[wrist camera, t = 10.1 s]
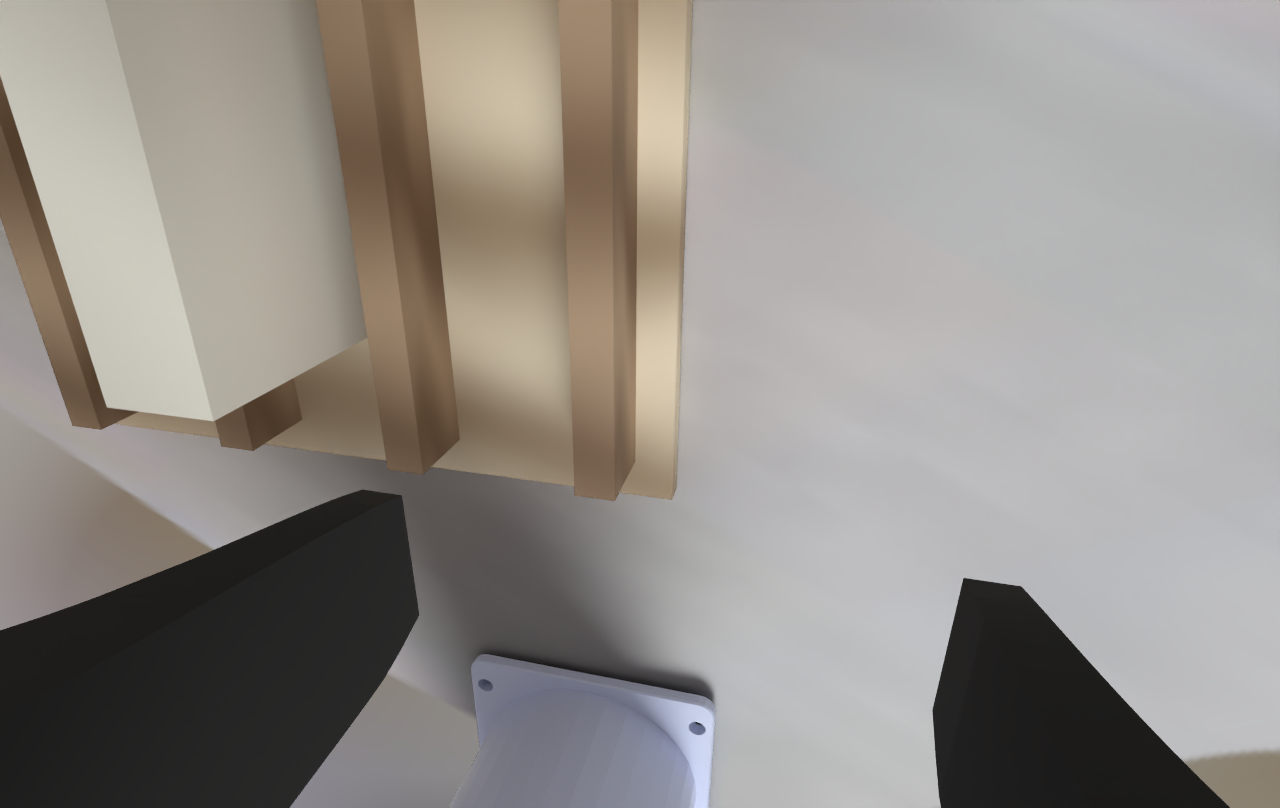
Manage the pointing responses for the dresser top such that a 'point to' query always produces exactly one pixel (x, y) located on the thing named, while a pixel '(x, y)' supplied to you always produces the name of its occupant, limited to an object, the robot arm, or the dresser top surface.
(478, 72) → the dish rack
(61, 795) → the robot arm
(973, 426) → the dresser top surface
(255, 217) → the cream slab
